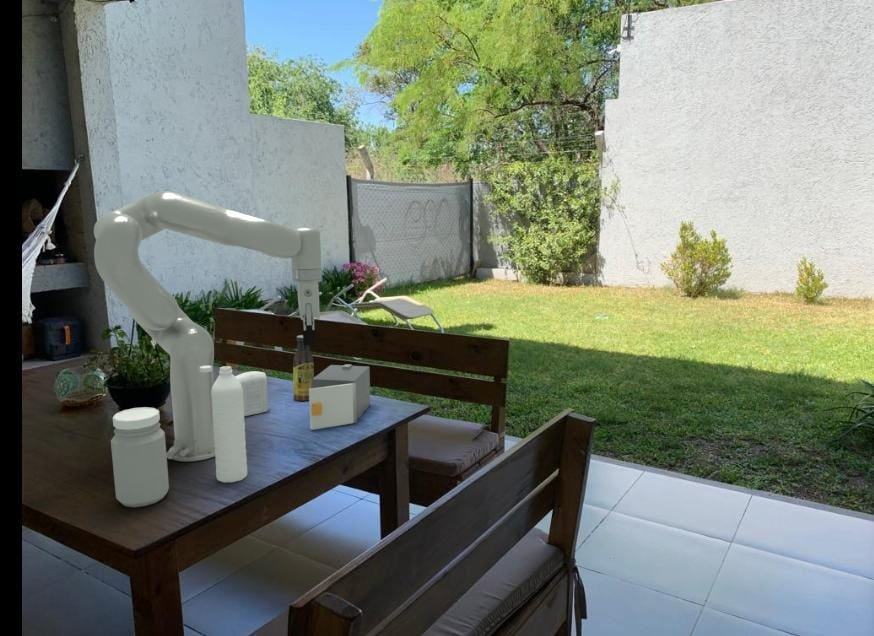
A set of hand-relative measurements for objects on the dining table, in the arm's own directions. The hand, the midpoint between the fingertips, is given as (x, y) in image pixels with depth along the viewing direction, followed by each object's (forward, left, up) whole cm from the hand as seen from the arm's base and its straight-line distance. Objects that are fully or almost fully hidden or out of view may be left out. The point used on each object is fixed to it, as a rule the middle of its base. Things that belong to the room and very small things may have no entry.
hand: (309, 344), depth 162 cm
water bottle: (-33, +8, -23) cm, 41 cm away
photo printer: (+8, +22, -23) cm, 33 cm away
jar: (-45, +20, -23) cm, 54 cm away
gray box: (+13, -4, -23) cm, 27 cm away
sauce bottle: (+24, +12, -23) cm, 35 cm away
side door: (+1, -6, -23) cm, 23 cm away
